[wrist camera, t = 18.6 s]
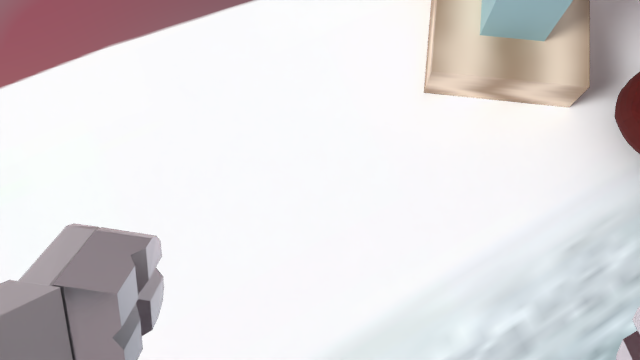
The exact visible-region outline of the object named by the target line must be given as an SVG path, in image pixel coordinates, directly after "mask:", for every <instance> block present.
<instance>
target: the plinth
mask: <svg viewBox="0 0 640 360" xmlns="http://www.w3.org/2000/svg"><path fill="white" fill-rule="evenodd" d="M481 5H482V0H431V12H430V25H429V37H428V49H427V61H426V74H425V86H424V93H433V94H443V95H453V96H462V97H472V98H482V99H492V100H502V101H512V102H522V103H531V104H541V105H551V106H561V107H570V106H571V105H572V104H573V103H574V102H575V101H576V100H577V99H578V98H579V97H580V96H581V95H582V94H583V93H584V92H585V91H586V90H587V89H588V88H589V87H590V0H573V1H572V3H571V4H570V5H569V7H568V8H567V10H566V11H565V13H564V14H563V15H562V17H561V18H560V20H559V21H558V23H557V24H556V25H555V27H554V28H553V30H552V31H551V33H550V34H549V35H548V37H547V38H546V40H545V41H535V40H525V39H514V38H504V37H493V36H483V35H480V23H481Z"/></svg>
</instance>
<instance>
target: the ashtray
mask: <svg viewBox="0 0 640 360" xmlns="http://www.w3.org/2000/svg"><path fill="white" fill-rule="evenodd" d="M615 119H616V122H617V125H618V127H619V129H620V131H621V133H622V135H623V137H624V138H625V139H626V141H627V142H628V144H629V145H630V146H632V147H633V148H634V149H635V150H636V151H637V152H638V153H639V154H640V72H639V73H638V74H636V75H635V76H634V77H633V78H632V79H630V80H629V82H628V83H627V84H626V85H625V87H624V88H623V89H622V90H621V92H620V94H619V95H618V99H617V102H616V109H615Z"/></svg>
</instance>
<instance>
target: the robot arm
mask: <svg viewBox="0 0 640 360" xmlns="http://www.w3.org/2000/svg"><path fill="white" fill-rule="evenodd" d="M161 257H162V251H161V241H160V239H159V238H158V237H157V236H154V235H148V234H141V233H135V232H128V231H122V230H116V229H109V228H103V227H102V228H99V227H95V226H88V225H81V224H71V225H68V226H66V227H65V228H64V229H63V230H62V231H61V233H60V234H59V235H58V236H57V237H56V238H55V239H54V240H53V242H52V243H51V244H50V245H49V246H48V247H47V248H46V250H45V251H44V252H43V253H42V254H41V255H40V256H39V258H38V259H37V260H36V261H35V262H34V263H33V264H32V266H31V267H30V268H29V269H28V270H27V271H26V272H25V274H24V275H23V276H22V277H21V278H20V279H19V280H18V281H13V280H8V281H6V282H3V283H1V284H0V360H137V359H138V357H139V355H140V353H141V351H142V349H143V347H142V336H143V335H144V334H146V333H148V332H149V331H151V330H152V329H153V327H154V325H155V323H156V321H157V319H158V316H159V313H160V309H161V305H162V301H163V291H164V282H163V276H162V274H161V273H160V272H159V271H158V270H157V268H156V266H157V264H158V262H159V261H160V259H161ZM632 320H633V322H634V325H635V327H636V329H637V331H636V332H634V333H633V334H631V335H629V336H628V337H626V338H625V339H623V341H622V343H621V345H620V348H619V350H618V352H617V357H616V360H640V307H639V308H638V309H637V311H636V313H635V315H634V317H633V319H632Z"/></svg>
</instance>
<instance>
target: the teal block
mask: <svg viewBox="0 0 640 360" xmlns="http://www.w3.org/2000/svg"><path fill="white" fill-rule="evenodd" d="M572 1H573V0H482V5H481V23H480V35H483V36H493V37H504V38H514V39H525V40H535V41H545V40H546V38H547V37H548V35H549V34H550V33H551V31H552V30H553V28H554V27H555V25H556V24H557V23H558V21H559V20H560V18H561V17H562V15H563V14H564V13H565V11H566V10H567V8H568V7H569V5H570V4H571V3H572Z"/></svg>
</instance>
